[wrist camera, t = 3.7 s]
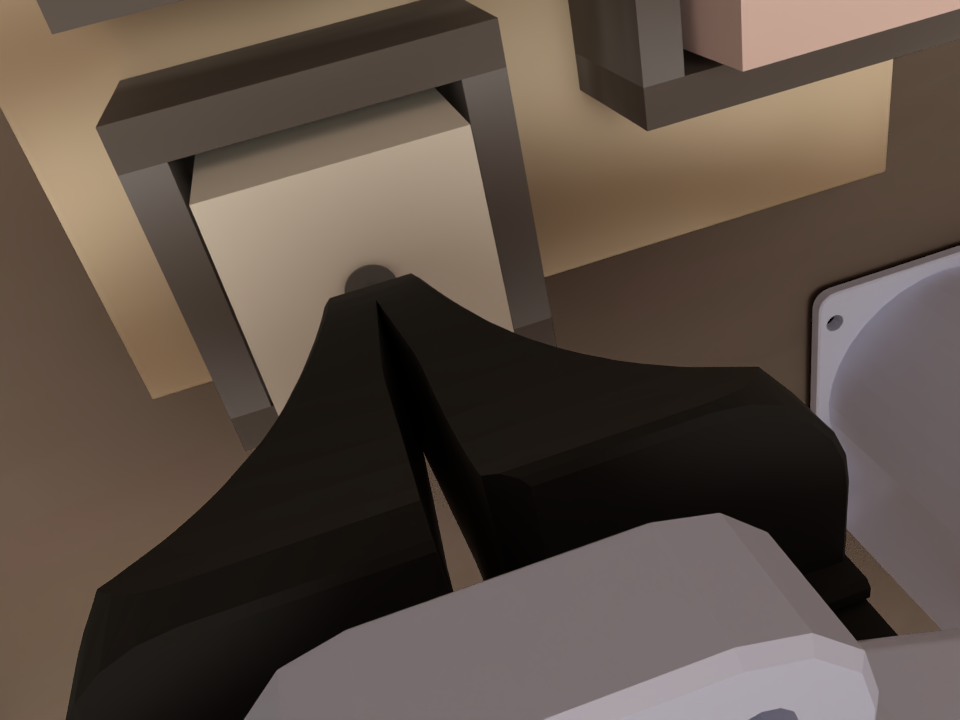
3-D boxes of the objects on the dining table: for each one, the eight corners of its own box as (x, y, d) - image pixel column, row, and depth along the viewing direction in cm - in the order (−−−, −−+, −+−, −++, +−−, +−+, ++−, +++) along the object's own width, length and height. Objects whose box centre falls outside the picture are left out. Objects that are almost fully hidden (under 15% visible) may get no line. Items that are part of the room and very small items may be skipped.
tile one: (480, 293, 18) (521, 360, 15) (277, 356, 17) (286, 436, 15) (432, 85, 15) (471, 126, 13) (195, 152, 15) (188, 207, 12)
